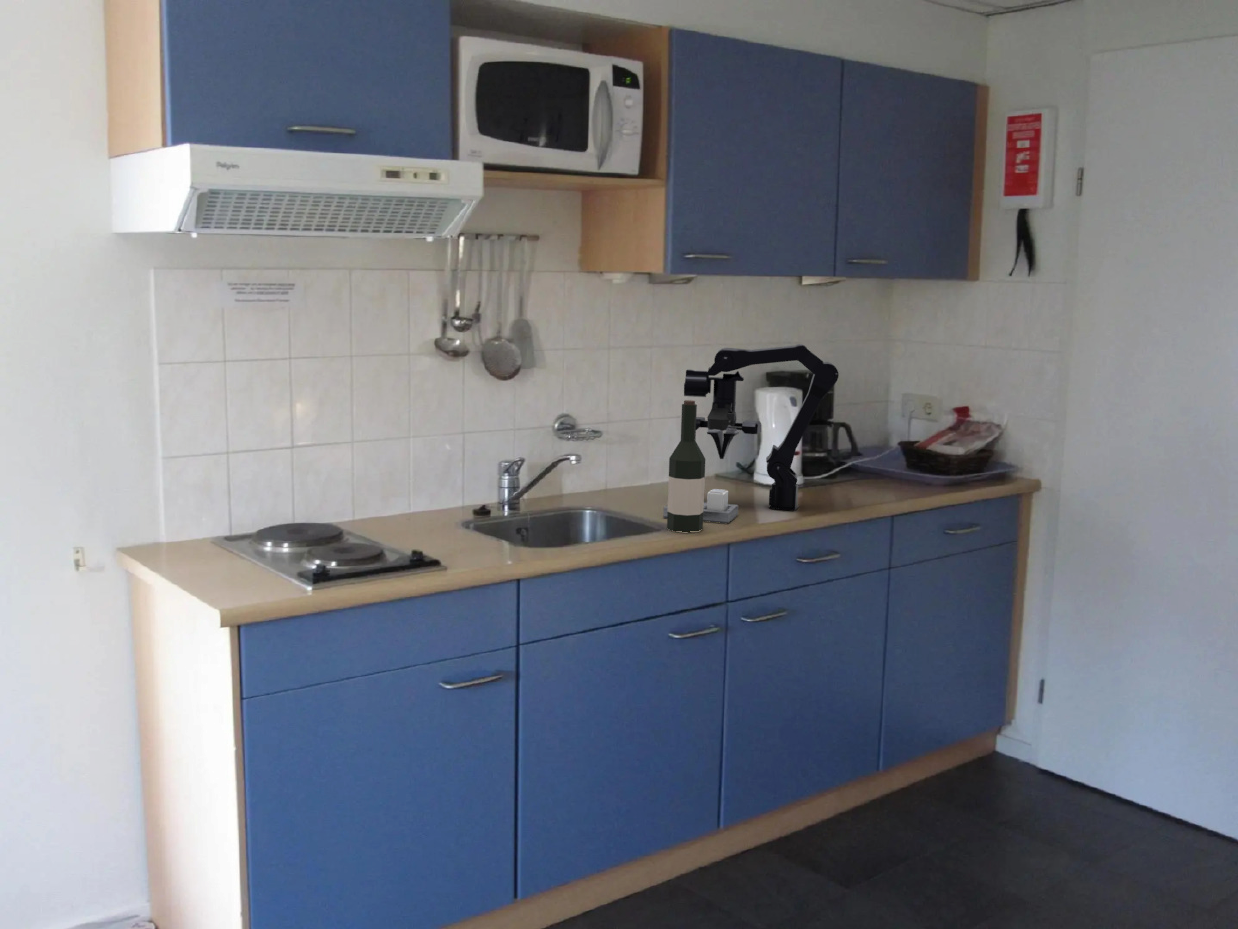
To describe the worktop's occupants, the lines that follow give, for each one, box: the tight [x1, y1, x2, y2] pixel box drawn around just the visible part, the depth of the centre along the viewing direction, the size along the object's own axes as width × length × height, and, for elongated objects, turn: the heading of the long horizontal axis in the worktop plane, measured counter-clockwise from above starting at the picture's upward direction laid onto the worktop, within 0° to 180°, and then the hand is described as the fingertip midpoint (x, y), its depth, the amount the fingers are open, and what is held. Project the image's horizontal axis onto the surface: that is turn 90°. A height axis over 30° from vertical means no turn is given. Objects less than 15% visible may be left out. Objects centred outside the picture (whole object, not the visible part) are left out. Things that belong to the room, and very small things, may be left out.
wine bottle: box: [666, 399, 706, 532], centre depth 280 cm, size 8×8×30 cm
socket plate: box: [662, 501, 739, 524], centre depth 297 cm, size 16×11×3 cm
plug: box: [706, 488, 729, 511], centre depth 296 cm, size 4×5×6 cm
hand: (721, 458), depth 311 cm, fingers closed
